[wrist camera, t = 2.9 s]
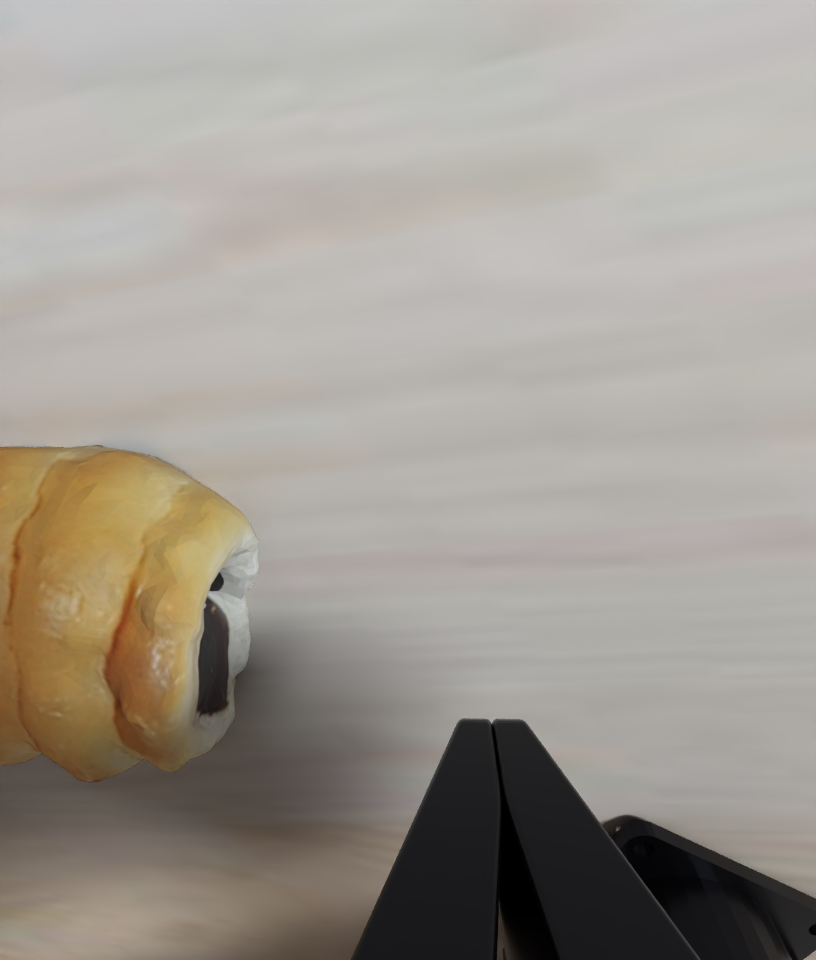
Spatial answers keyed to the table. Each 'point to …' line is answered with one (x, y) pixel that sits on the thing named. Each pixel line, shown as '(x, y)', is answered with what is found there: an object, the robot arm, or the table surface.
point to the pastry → (117, 610)
